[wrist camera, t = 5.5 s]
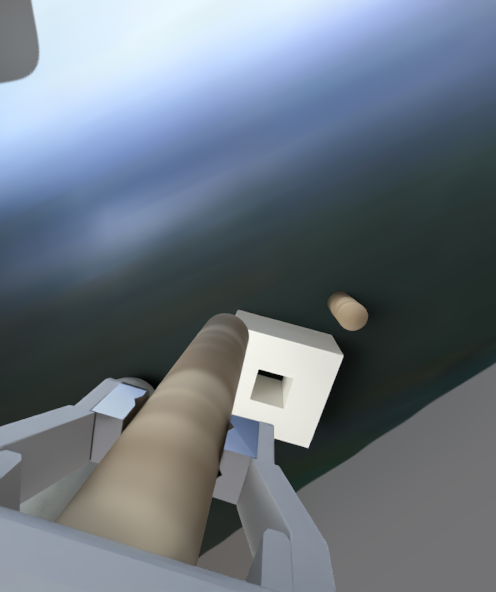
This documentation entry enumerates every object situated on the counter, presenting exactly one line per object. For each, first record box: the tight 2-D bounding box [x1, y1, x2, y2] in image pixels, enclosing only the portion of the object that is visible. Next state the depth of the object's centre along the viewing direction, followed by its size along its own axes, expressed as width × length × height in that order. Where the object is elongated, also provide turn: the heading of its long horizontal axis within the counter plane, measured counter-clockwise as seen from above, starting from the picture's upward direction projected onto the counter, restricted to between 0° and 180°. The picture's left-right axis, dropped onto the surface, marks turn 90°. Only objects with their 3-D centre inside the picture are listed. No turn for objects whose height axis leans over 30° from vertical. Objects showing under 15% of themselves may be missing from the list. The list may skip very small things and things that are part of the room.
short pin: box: [327, 291, 368, 330], centre depth 30 cm, size 3×3×6 cm
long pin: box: [54, 313, 249, 566], centre depth 10 cm, size 3×3×14 cm
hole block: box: [231, 310, 344, 448], centre depth 33 cm, size 13×13×6 cm
